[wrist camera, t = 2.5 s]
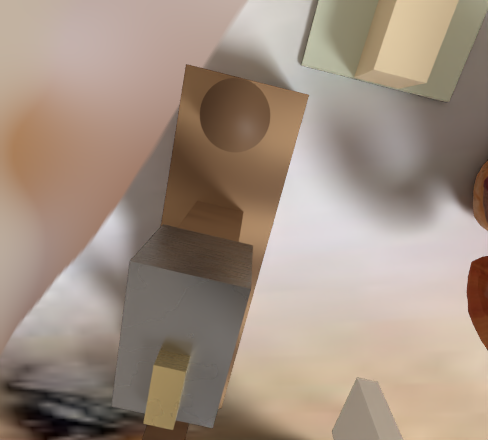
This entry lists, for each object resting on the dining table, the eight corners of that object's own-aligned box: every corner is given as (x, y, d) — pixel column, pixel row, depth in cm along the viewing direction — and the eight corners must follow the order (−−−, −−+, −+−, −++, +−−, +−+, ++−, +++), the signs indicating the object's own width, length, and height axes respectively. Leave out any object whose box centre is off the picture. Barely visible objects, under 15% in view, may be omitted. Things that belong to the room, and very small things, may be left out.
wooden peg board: (226, 370, 29) (207, 515, 18) (151, 353, 28) (89, 491, 18) (299, 99, 21) (340, 80, 11) (199, 73, 21) (140, 29, 10)
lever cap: (222, 359, 17) (210, 447, 12) (144, 341, 17) (102, 424, 12) (252, 245, 15) (250, 301, 10) (163, 224, 15) (120, 271, 10)
